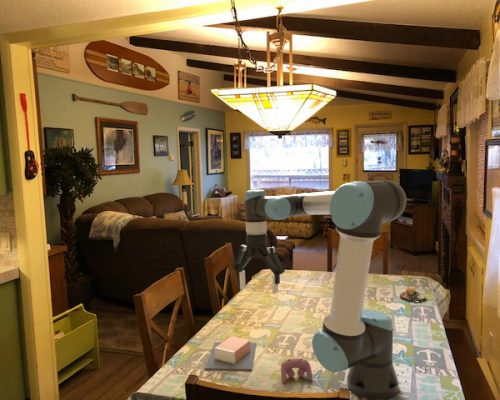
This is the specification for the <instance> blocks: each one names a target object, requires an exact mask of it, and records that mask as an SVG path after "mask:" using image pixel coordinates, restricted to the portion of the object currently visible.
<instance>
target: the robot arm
mask: <svg viewBox="0 0 500 400" xmlns="http://www.w3.org/2000/svg"><path fill="white" fill-rule="evenodd" d="M243 202H244V212H245V214H244V216H245V217H244V218H245V232H246V235H245V236H246V237H245V238H246V239H245V240H246V244H241V245H239V246H238V247H239V248H238V254H237V256H236V258H235V261H234V263H233V265H232V269H233V270H236V271H237V280H239V290H243V289H246V270H244V269H245V267H246V266H247V265H248V263H249V262H250V261H251V259H253V260H254V259H257V260H262V261H264V263H265V264H266V265H267V266H268V268H269V269H270V271H271V272H272V274H273V275H272V277H271V279H272V294H274V295H276V294H277V293H278V292H279V285H280V283H281V275H282V274H284V273H285V271H286V270H285V268H284V266H283V264H282V262H281V260H280V257H279V256H278V253H277V250H276V247H275V246H272V247H268V234H267V231H268V228H267V227H268V226H267V219H271V220H273V221H277V220H280V221H281V220H282V221H283V220H285V219H286V218H290V217H295V216H297V217H298V216H311V215H312V216H313V215H319V216H321V215H330V216H332V217H331V220H332V222H333V223H334V224H335V231H336V232H337V233H338V234H339V236H340V237H339V245H338V252H337V260H336V265H335V267H336V268H335V274H334V281H333V288H332V296H331V303H330V309H329V313H327V314H326V315H325V316H324V318H323V322H322V329H321V330H318V331H317V332H316V333H314V335H313V336H312V339H311V345H312V350H313V351H312V352H313V354H314V356H315V357H316V360H317V361H318V362H319V364H320V366H322V367H323V368H324V369H325V370H326V371H327V372H330V373H334V374H335V373H340V372H344V371H347V370H348V369H349V371H348V373H347V377H346V379H347V380H346V382H347V387H348V388H349V390H351V392H352V393H354V394H356V395H358V396H360V397H363V398H366V399H371V400H386V399H391V398H393V397H394V396H396V395H397V394H398V393H399V387H400V386H399V379H398V377H397V372H396V370H395V367H394V365H393V362H394V361H393V347H394V346H393V340H394V339H393V338H394V335H393V333H394V328H393V320H392V318H391V316H390V315H388V314H387V313H383V312H382V311H378V310H374V309H373V310H372V309H366V308H365V309H363V308H364V302H365V296H366V289H367V284H368V278H369V276H368V275H369V270H370V266H371V260H372V259H371V258H372V251H373V245H374V242H375V240H377V239H379V238H380V237H381V235H382V234H381V233H382V227H383V223H389V222H392V221H394V220H397V219H398V218H399V217H401V215H402V214H403V213H404V211H405V208H406V206H407V195H406V193H405V190H404V189H403V187H401V185H400V184H398V183H397V182H395V181H393V180H389V179H377V180H355V181H352V182H348V183H344V184H342V185H340V186H339V187H338V188H336V189H335V190H333V191H332V190H331V191H320V192H309V193H308V192H304V193H297V194H288V195H285V194H284V195H277V196H276V195H275V196H267V195H266V190H264V189H252V190H251V189H250V190H246V191H245V192H244V201H243ZM245 252H247V254H246V256H245V258H244V259H243V257H244V255H245ZM268 253H269V254H268ZM270 257H271V258H270Z"/></svg>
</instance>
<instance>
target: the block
mask: <svg viewBox="0 0 500 400" xmlns="http://www.w3.org/2000/svg"><path fill="white" fill-rule="evenodd" d="M250 343H251V340H250V339H247V338H241V337H237V336H233V335H232V336H229V337H228V338H227V339H225V340H224V341H223V343H221V344H220V345H218V346H217V347H215V359H218V360H222V361H226V362H230V363H234V364H235V363H236V362H237V361H238V360H240V359H241V358H242V357H243V356H245V355H246V354H247V353H248V352H249V351H250Z"/></svg>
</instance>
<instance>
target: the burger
mask: <svg viewBox="0 0 500 400" xmlns="http://www.w3.org/2000/svg"><path fill="white" fill-rule="evenodd" d="M426 297H427V296H426V295H425V294H423V293H419V292H417V291H416V289H415V287H413V286H408V287H407V288H406V289H405V291H404V292H401V293H399V299H400V300H402V301H404V300H405V301H404V302H408V301H410V302H409V303H414V302H413V301H424V302H425V299H426ZM411 301H412V302H411Z"/></svg>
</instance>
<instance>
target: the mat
mask: <svg viewBox="0 0 500 400" xmlns="http://www.w3.org/2000/svg"><path fill="white" fill-rule="evenodd" d="M223 342H224V341H223ZM223 342H222V341H221V342H220V341H217V342H216V341H215V342H214V344H213V346H212V348H211V352H210V353H209V356H208V359H207V360H206V361H207V362H206V364H205V367H204V370H205V371H244V372H245V371H248V372H249V371H253V365H254V360H255V356H256V355H255V353H256V348H257V342H250V351H249V352H248V353H247V354H246V355H245V356H243V357H242V358H241V359H240V360H238V361H237V362H236V363H235V364H234V363H230V362H226V361H222V360H218V359H215V347H217V346H218V345H220V344H221V343H223Z"/></svg>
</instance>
